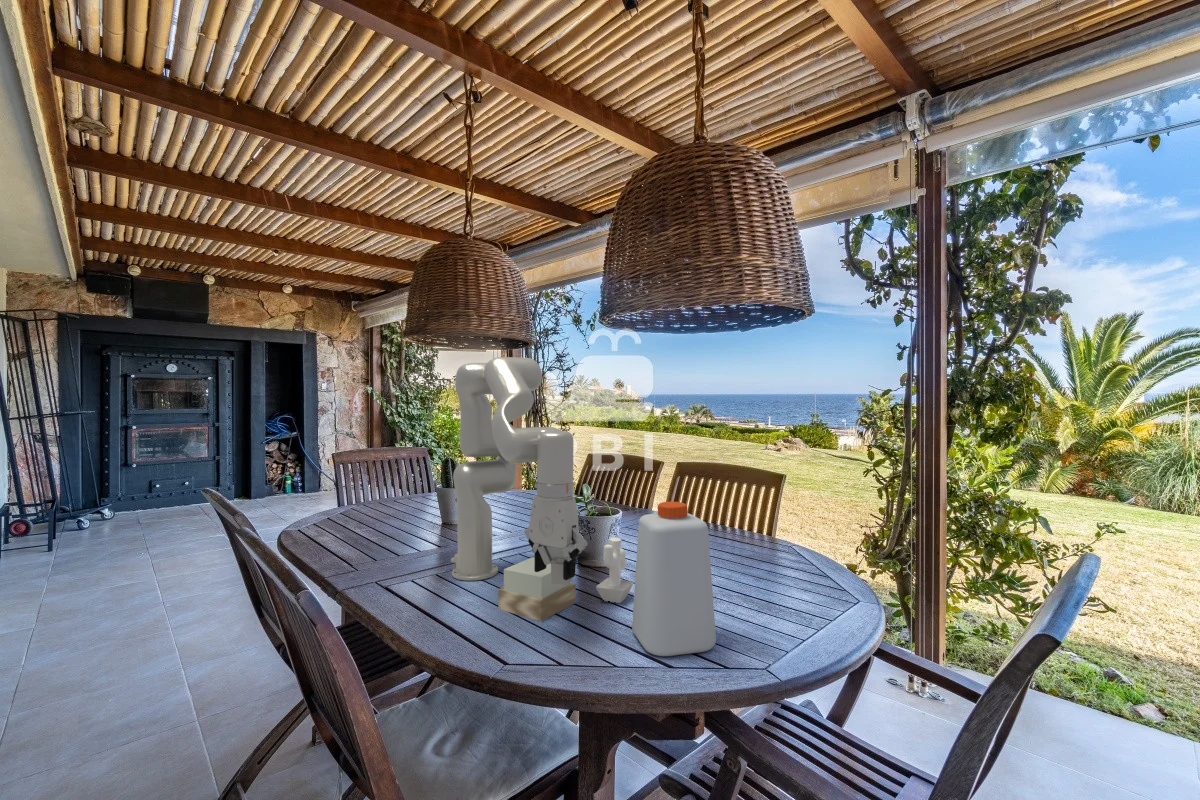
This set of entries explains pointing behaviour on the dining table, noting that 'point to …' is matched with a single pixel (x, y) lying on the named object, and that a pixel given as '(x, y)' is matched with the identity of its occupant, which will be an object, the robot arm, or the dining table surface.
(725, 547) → the dining table surface
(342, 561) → the dining table surface
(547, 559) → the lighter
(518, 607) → the birch base block
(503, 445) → the robot arm
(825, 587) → the dining table surface
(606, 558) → the figurine
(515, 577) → the sage top block
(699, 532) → the plastic bottle
